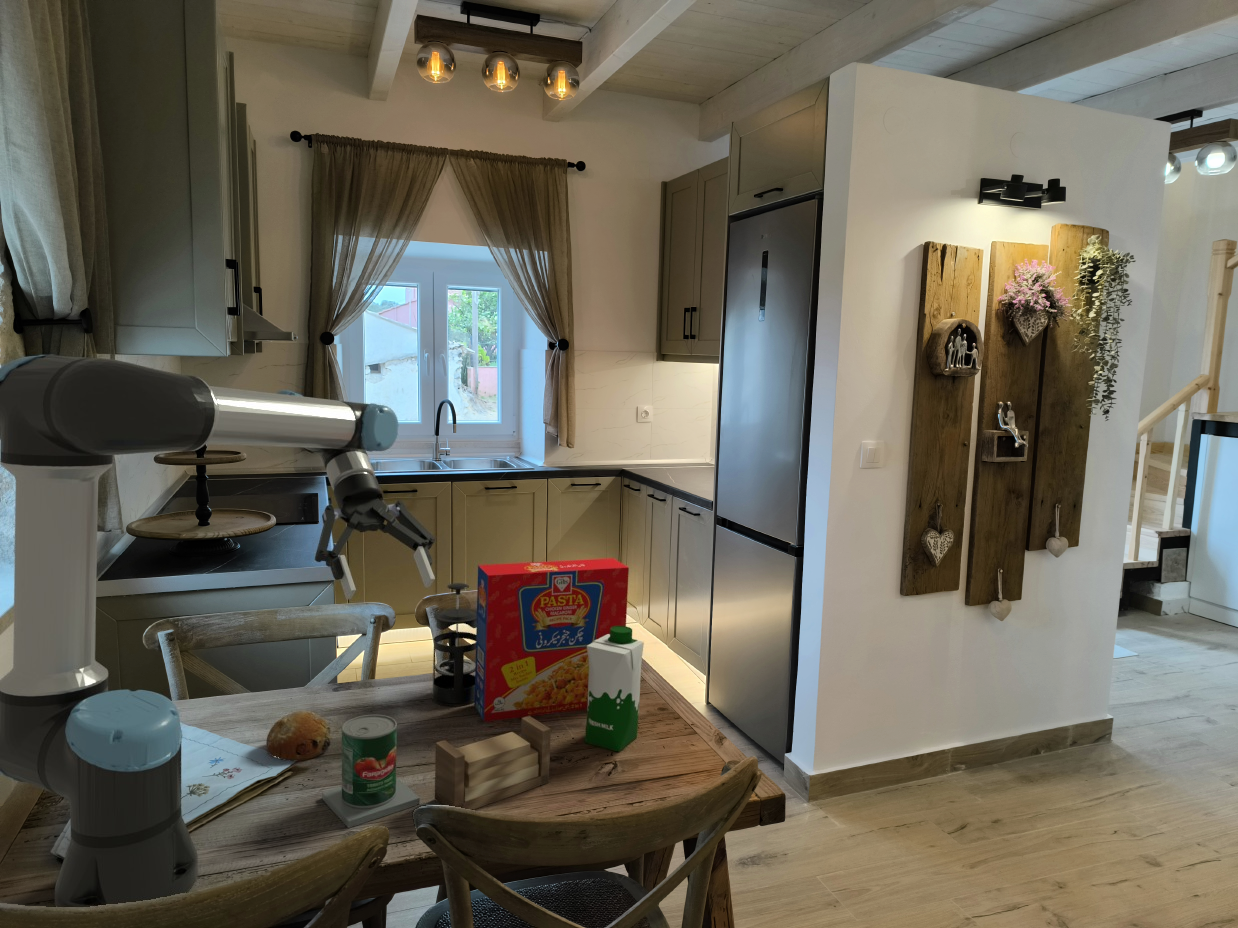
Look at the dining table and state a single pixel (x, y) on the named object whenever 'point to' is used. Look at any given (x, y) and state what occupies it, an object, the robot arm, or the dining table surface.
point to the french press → (454, 656)
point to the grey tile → (358, 815)
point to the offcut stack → (497, 764)
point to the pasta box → (542, 633)
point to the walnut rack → (452, 791)
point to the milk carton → (613, 689)
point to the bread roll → (299, 736)
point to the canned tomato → (369, 761)
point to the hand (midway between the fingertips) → (392, 588)
